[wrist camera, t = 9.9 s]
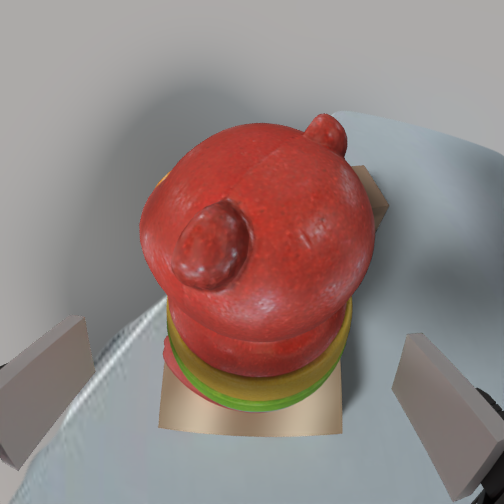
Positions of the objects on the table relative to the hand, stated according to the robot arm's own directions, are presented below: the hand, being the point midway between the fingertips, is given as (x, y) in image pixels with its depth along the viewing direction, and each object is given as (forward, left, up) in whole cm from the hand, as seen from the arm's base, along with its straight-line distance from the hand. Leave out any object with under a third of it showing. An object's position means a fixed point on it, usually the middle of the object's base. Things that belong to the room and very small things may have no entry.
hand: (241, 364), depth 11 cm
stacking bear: (0, -3, -11) cm, 11 cm away
